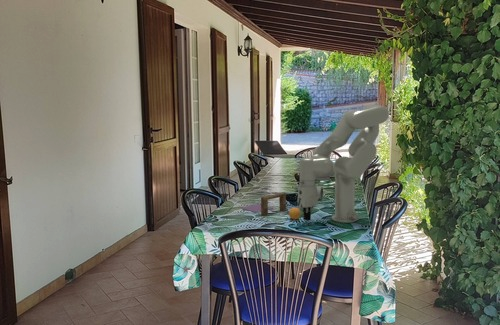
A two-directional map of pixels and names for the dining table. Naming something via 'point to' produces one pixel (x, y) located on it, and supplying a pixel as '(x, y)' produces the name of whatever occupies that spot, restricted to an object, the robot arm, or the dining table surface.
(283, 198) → the bridge
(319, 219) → the dining table surface
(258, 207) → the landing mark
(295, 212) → the ball
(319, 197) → the ceramic mug
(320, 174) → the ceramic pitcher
